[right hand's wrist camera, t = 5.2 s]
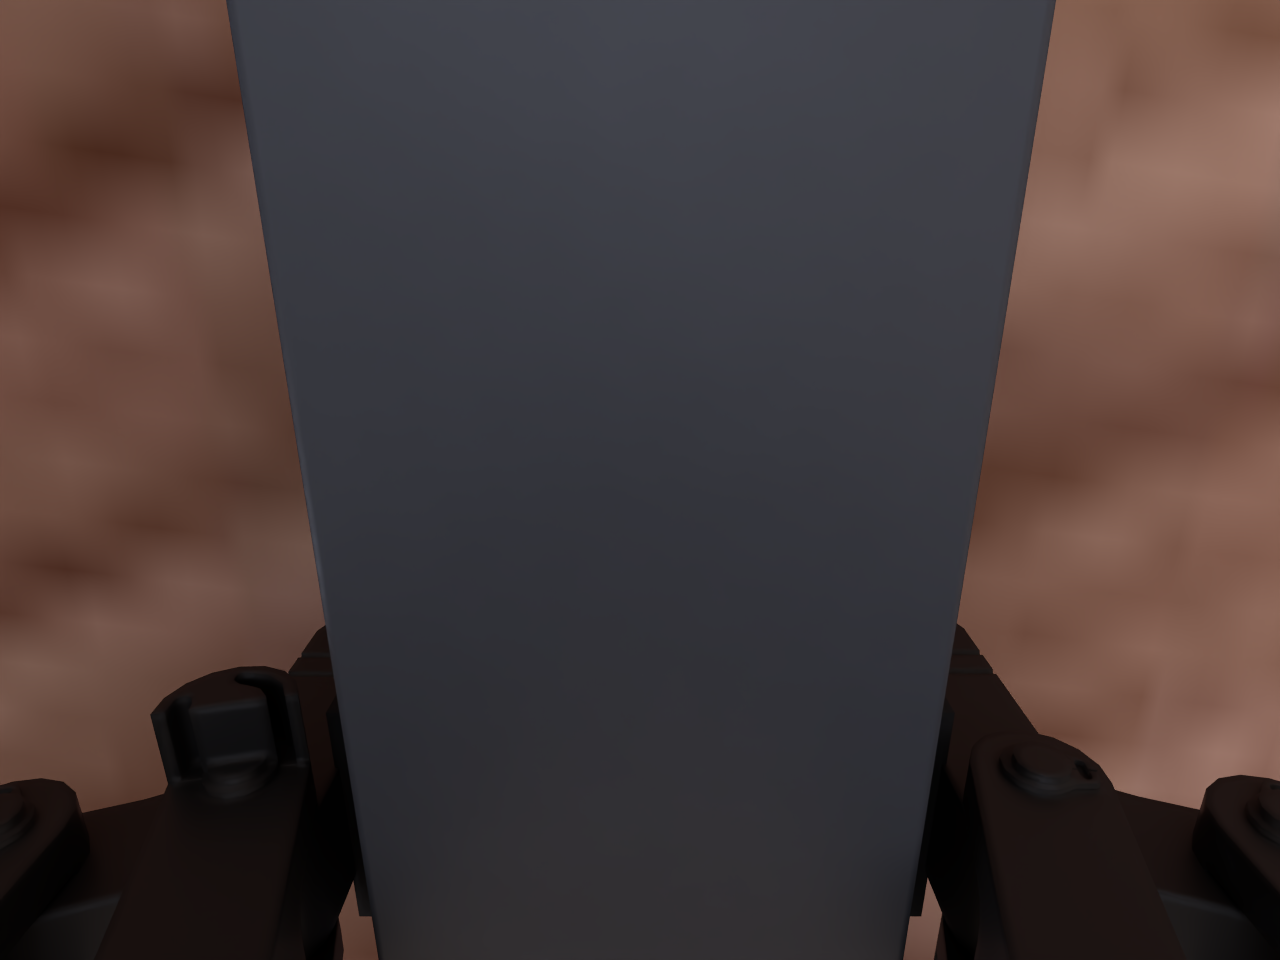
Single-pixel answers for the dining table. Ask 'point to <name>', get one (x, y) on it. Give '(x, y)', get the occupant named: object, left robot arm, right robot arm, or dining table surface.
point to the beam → (640, 443)
